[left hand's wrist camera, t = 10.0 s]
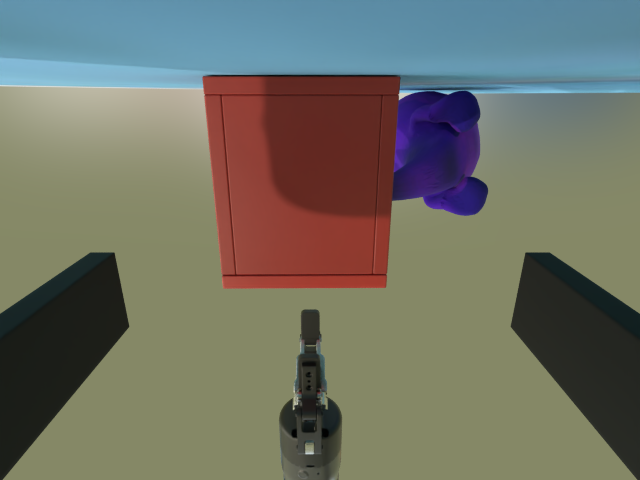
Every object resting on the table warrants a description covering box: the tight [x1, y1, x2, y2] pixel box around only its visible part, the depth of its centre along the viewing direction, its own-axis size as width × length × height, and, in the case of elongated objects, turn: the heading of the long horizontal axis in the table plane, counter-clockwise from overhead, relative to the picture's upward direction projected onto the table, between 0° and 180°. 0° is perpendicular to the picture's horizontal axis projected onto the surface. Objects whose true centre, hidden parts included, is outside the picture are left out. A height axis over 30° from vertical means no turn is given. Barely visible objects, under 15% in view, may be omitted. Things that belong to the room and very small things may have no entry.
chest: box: [203, 76, 400, 275], centre depth 29 cm, size 17×10×11 cm, turn 179°
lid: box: [222, 273, 387, 288], centre depth 33 cm, size 18×10×8 cm, turn 179°
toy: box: [392, 91, 488, 216], centre depth 55 cm, size 16×18×27 cm
